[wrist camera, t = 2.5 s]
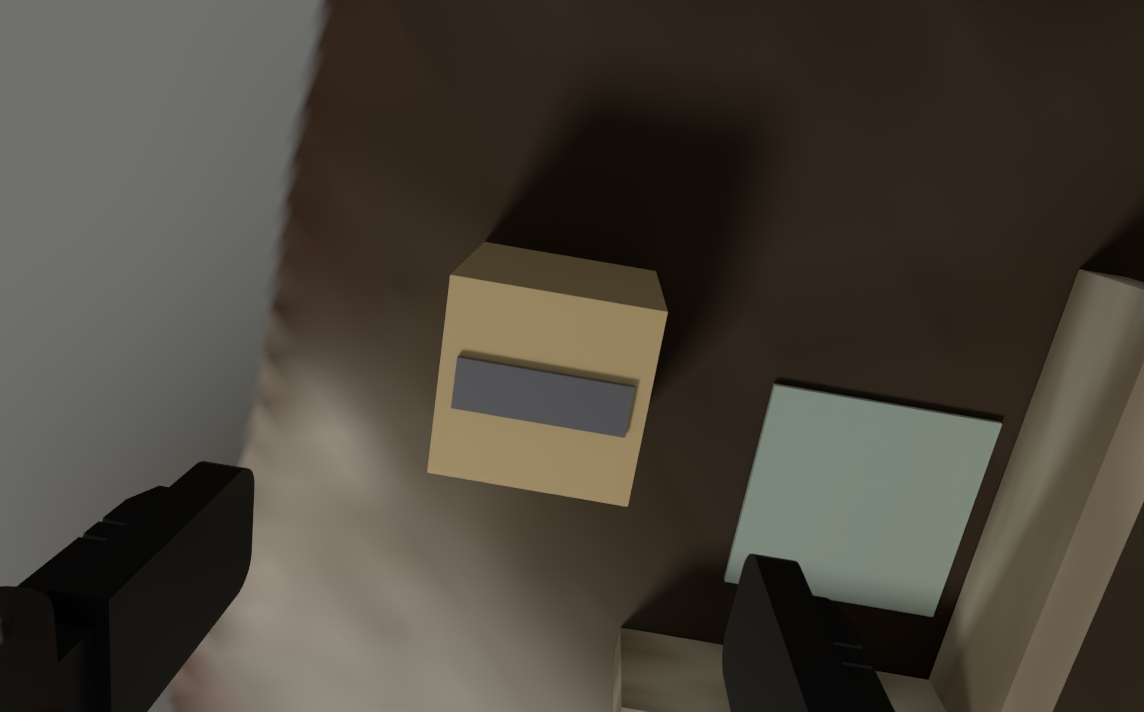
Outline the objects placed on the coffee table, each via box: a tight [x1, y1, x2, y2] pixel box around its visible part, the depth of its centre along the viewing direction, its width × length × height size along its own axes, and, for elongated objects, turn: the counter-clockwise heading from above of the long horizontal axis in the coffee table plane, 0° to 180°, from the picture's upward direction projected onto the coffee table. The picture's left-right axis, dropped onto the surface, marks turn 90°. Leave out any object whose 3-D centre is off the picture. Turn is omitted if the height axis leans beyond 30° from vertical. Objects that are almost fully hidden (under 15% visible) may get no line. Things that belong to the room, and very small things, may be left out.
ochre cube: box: [427, 242, 668, 507], centre depth 22 cm, size 6×6×6 cm
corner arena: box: [613, 269, 1144, 712], centre depth 24 cm, size 13×17×4 cm
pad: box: [724, 383, 1002, 617], centre depth 26 cm, size 8×8×1 cm
